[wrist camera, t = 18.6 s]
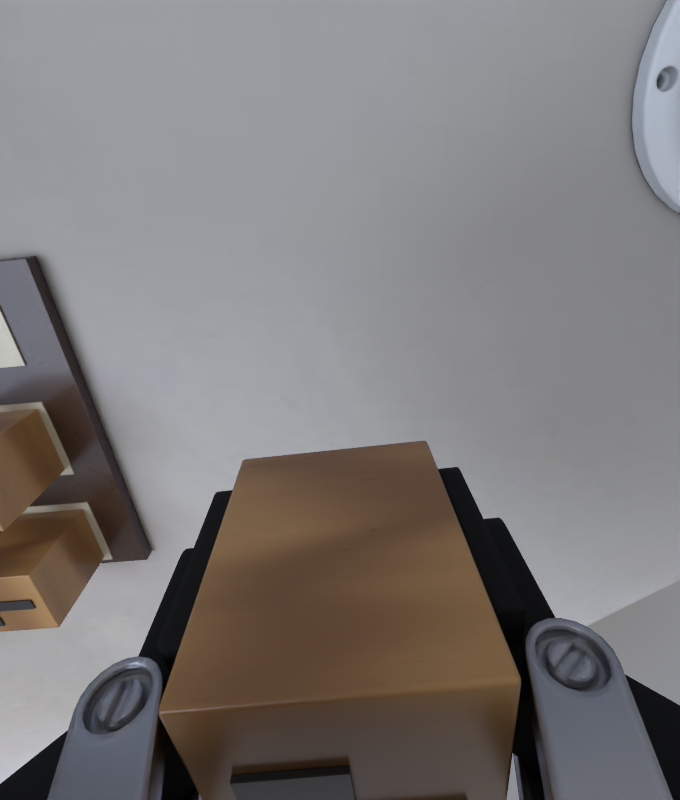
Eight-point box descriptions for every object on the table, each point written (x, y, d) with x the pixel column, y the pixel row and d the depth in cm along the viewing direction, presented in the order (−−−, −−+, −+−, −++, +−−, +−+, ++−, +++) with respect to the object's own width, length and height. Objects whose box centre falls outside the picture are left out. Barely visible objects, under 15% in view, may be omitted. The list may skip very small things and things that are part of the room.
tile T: (82, 508, 28) (27, 576, 23) (104, 556, 30) (58, 629, 25) (19, 514, 28) (-50, 582, 23) (45, 561, 30) (-13, 634, 25)
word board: (36, 255, 22) (24, 258, 21) (151, 551, 31) (146, 560, 30) (-147, 274, 22) (-165, 277, 21) (21, 561, 31) (12, 571, 31)
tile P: (426, 438, 10) (528, 690, 5) (430, 573, 12) (505, 856, 7) (242, 457, 10) (150, 722, 5) (274, 588, 12) (232, 875, 7)
